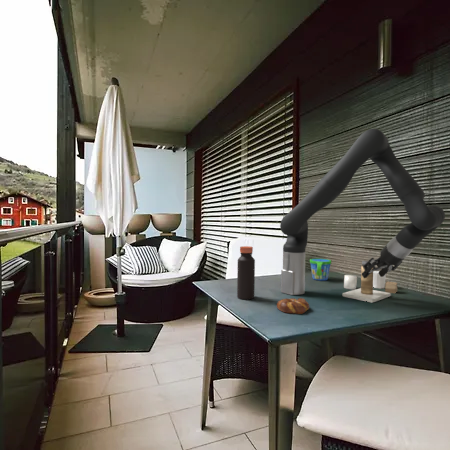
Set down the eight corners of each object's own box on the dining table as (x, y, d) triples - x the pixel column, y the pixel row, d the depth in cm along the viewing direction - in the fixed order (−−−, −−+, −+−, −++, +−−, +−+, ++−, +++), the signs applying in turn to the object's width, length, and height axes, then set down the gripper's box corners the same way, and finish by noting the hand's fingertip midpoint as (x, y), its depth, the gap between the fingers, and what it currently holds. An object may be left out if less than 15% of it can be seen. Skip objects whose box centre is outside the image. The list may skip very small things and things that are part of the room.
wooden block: (395, 293, 129) (395, 284, 129) (385, 292, 132) (385, 283, 132) (397, 291, 132) (397, 282, 132) (386, 290, 135) (387, 281, 135)
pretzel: (291, 303, 114) (291, 293, 114) (316, 310, 105) (317, 300, 105) (269, 309, 106) (269, 298, 106) (294, 317, 98) (295, 305, 98)
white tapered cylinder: (388, 289, 137) (388, 273, 137) (371, 288, 139) (372, 272, 139) (383, 285, 144) (383, 271, 144) (367, 285, 145) (368, 270, 145)
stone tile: (372, 302, 115) (372, 299, 115) (342, 296, 124) (342, 293, 124) (390, 296, 125) (390, 293, 125) (361, 290, 134) (361, 287, 134)
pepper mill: (369, 295, 121) (370, 262, 121) (358, 293, 124) (359, 261, 124) (374, 293, 124) (375, 261, 123) (364, 291, 127) (364, 260, 127)
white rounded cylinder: (357, 289, 135) (357, 277, 135) (344, 288, 136) (345, 276, 136) (355, 287, 140) (356, 275, 140) (343, 286, 141) (343, 274, 141)
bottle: (255, 296, 122) (256, 246, 122) (252, 300, 116) (253, 248, 115) (239, 294, 124) (239, 245, 124) (235, 299, 118) (235, 247, 117)
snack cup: (328, 283, 148) (328, 262, 147) (306, 281, 153) (306, 260, 152) (333, 278, 162) (333, 258, 161) (312, 276, 166) (313, 257, 166)
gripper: (405, 241, 116) (380, 267, 127) (376, 242, 111) (352, 268, 122) (418, 257, 111) (391, 282, 122) (388, 258, 106) (362, 284, 117)
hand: (371, 275), depth 122 cm, fingers open, 8 cm apart
